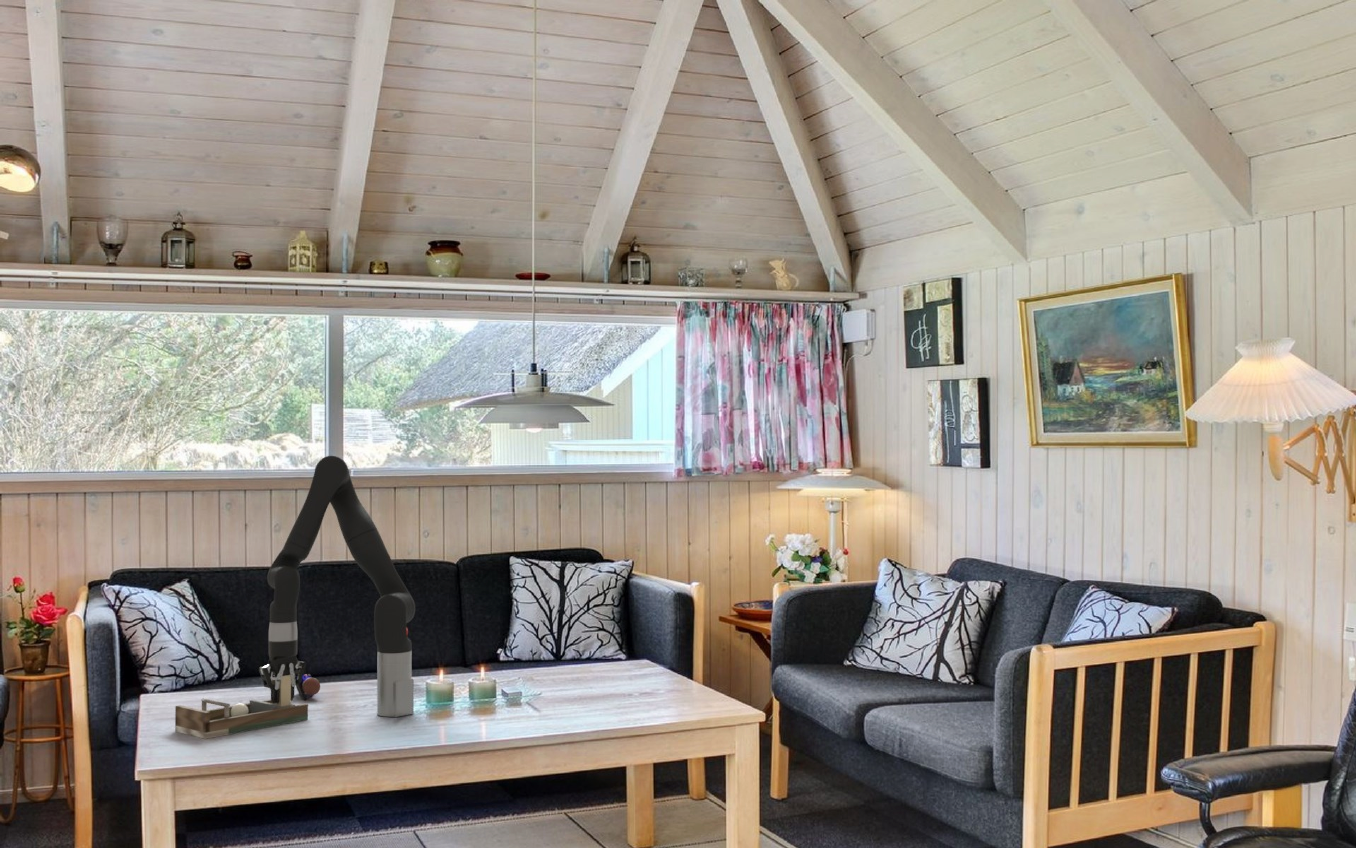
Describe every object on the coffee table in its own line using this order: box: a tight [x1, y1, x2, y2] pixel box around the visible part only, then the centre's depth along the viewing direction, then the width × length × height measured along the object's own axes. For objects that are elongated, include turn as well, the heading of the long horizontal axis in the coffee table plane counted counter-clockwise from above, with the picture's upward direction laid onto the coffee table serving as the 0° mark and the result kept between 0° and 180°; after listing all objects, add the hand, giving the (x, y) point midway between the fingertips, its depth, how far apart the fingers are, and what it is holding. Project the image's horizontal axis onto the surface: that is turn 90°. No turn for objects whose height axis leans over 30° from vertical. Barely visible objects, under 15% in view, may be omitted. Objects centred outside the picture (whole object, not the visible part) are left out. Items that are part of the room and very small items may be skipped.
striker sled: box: [249, 675, 296, 713], centre depth 335 cm, size 11×9×10 cm
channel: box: [174, 698, 309, 740], centre depth 327 cm, size 14×30×8 cm, turn 141°
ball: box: [231, 702, 248, 717], centre depth 326 cm, size 4×4×4 cm
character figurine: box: [294, 669, 321, 701], centre depth 367 cm, size 8×7×15 cm
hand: (282, 701), depth 337 cm, fingers open, 3 cm apart
